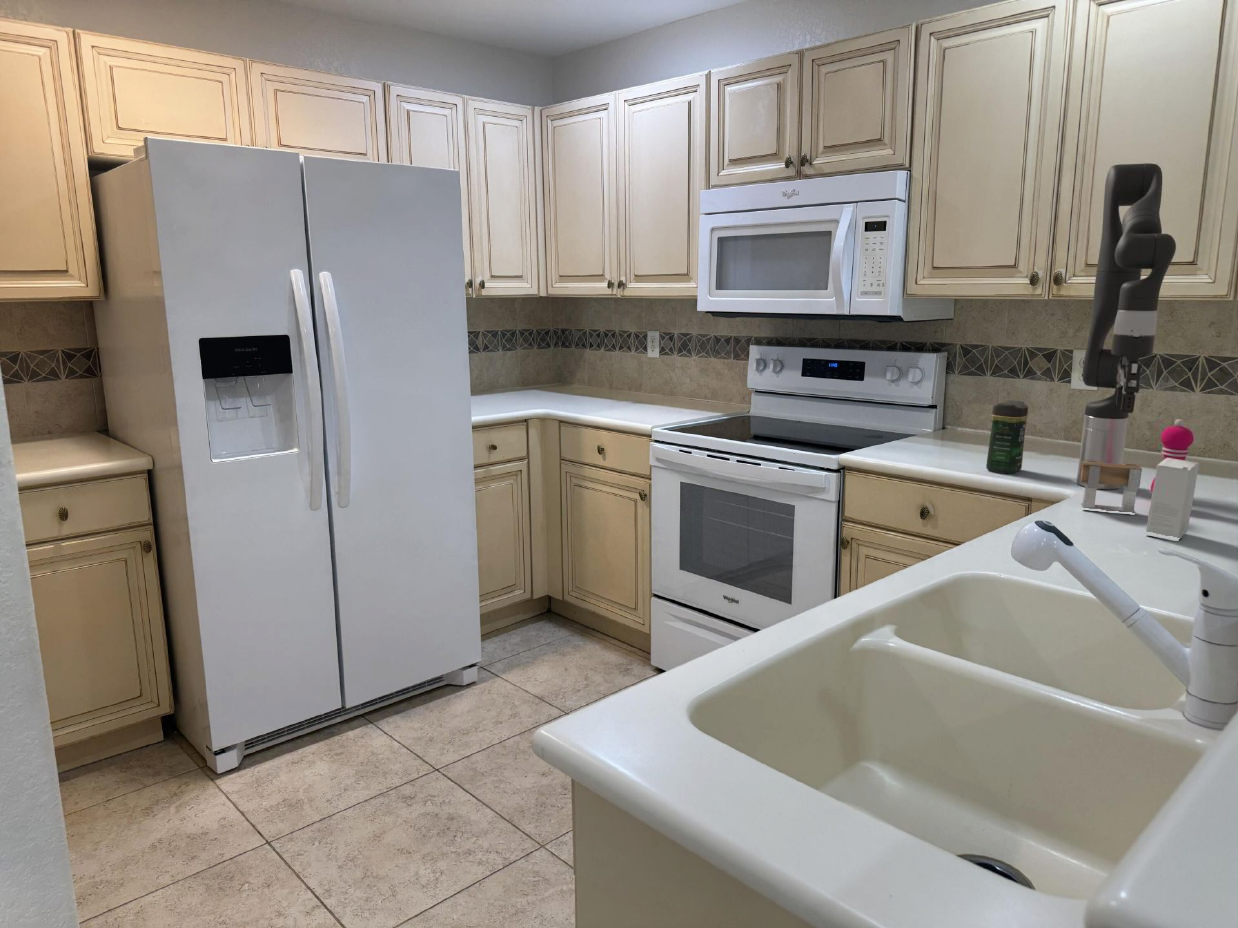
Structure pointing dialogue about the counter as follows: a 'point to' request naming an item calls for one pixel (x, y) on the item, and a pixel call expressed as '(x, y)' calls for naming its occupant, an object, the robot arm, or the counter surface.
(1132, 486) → the bracket
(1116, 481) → the rail
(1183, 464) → the skincare box
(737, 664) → the counter surface
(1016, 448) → the coffee jar
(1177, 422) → the pepper mill
